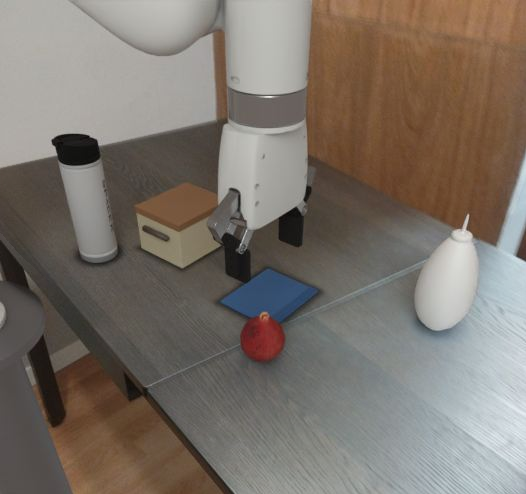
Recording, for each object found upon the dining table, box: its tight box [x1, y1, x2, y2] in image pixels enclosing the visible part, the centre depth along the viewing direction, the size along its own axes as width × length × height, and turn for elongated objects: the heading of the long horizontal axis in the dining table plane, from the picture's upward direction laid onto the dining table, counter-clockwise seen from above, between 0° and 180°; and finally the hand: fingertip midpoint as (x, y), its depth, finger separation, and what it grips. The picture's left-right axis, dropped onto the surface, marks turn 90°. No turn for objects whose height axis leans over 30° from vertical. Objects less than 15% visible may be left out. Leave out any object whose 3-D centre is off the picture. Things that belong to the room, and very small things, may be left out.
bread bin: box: [134, 181, 222, 269], centre depth 91 cm, size 13×10×8 cm
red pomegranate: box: [239, 311, 286, 363], centre depth 70 cm, size 6×6×8 cm
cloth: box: [219, 267, 319, 324], centre depth 83 cm, size 12×10×1 cm
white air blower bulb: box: [413, 213, 480, 332], centre depth 73 cm, size 8×8×18 cm
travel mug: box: [50, 133, 119, 264], centre depth 85 cm, size 6×7×20 cm
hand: (265, 259), depth 62 cm, fingers open, 9 cm apart
